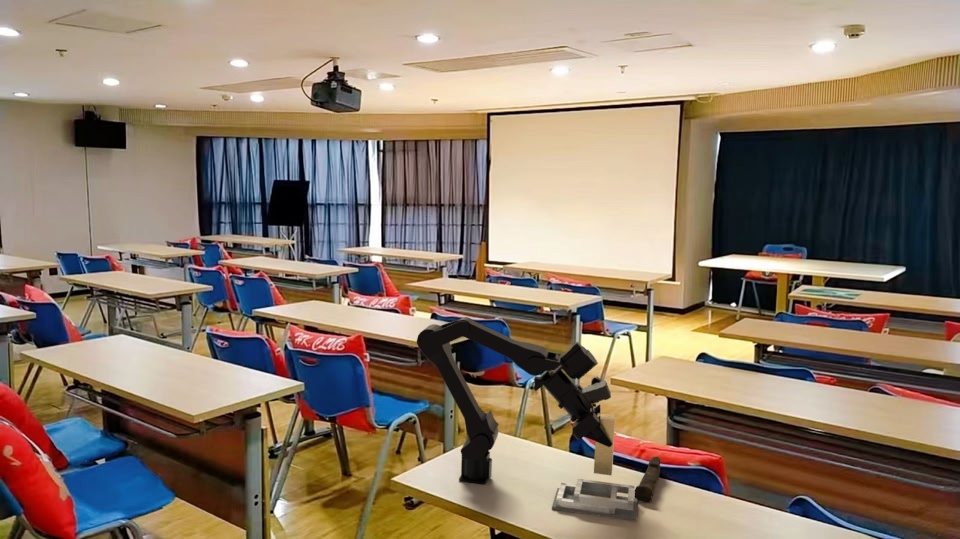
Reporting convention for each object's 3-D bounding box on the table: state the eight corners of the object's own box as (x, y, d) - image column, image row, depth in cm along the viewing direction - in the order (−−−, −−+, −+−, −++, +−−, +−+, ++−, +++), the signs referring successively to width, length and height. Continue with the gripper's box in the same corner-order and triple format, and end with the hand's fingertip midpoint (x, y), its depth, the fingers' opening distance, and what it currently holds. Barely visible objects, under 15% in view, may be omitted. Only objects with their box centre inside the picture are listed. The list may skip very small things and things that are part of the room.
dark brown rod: (651, 505, 148) (652, 485, 148) (633, 501, 150) (634, 481, 150) (668, 474, 165) (669, 456, 165) (651, 470, 167) (653, 453, 167)
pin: (593, 473, 153) (596, 418, 151) (595, 466, 157) (597, 412, 155) (611, 475, 152) (614, 420, 150) (612, 468, 156) (615, 414, 154)
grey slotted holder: (555, 506, 145) (556, 493, 145) (560, 488, 154) (561, 476, 153) (632, 517, 141) (633, 503, 141) (633, 498, 150) (634, 485, 149)
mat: (551, 509, 145) (551, 506, 145) (557, 490, 154) (557, 487, 154) (636, 521, 141) (636, 518, 141) (637, 501, 150) (637, 498, 150)
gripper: (590, 380, 143) (640, 435, 142) (591, 359, 161) (635, 407, 160) (552, 413, 145) (600, 466, 145) (557, 388, 163) (600, 435, 163)
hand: (610, 442), depth 153 cm, fingers closed on pin, 4 cm apart
